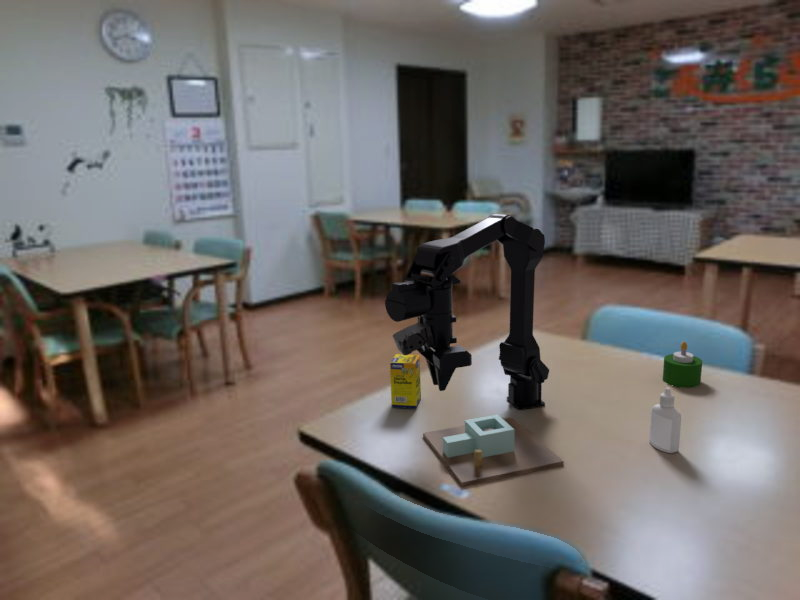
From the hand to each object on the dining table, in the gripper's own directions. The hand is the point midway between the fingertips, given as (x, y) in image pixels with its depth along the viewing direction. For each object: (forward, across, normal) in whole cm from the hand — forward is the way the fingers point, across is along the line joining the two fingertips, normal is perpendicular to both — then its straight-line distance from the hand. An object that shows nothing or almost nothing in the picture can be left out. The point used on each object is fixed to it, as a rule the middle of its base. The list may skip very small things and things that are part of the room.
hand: (439, 387), depth 120 cm
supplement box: (+12, -20, 0) cm, 23 cm away
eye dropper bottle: (+12, +18, +38) cm, 44 cm away
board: (+12, +7, +8) cm, 15 cm away
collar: (+11, +7, +5) cm, 13 cm away
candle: (+12, -7, +64) cm, 66 cm away
